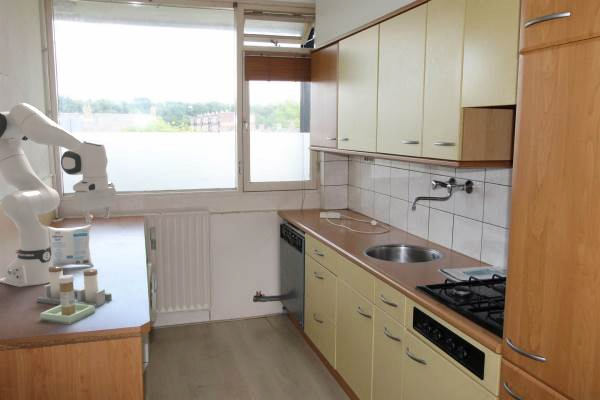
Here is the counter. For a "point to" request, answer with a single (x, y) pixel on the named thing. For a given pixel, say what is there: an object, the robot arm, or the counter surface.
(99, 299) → the spice rack
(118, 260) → the counter surface
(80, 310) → the tray
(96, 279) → the right jar
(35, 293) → the counter surface
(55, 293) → the left jar
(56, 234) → the pouch
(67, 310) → the sprinkles bottle
